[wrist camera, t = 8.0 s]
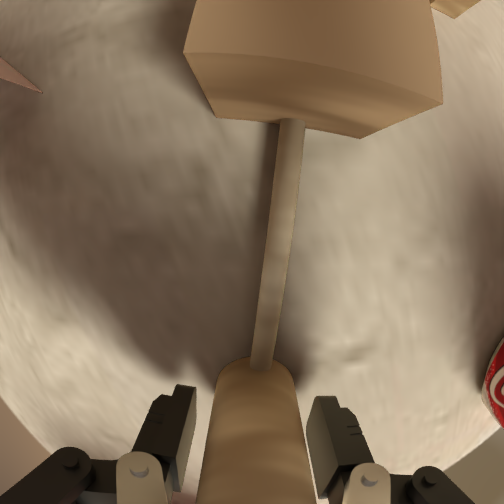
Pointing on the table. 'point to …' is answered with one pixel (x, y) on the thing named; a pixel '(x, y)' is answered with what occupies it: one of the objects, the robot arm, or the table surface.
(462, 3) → the oak table
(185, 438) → the robot arm
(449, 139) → the table surface
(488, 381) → the soda can
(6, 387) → the table surface
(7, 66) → the greeting card
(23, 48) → the table surface
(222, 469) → the tan mallet
